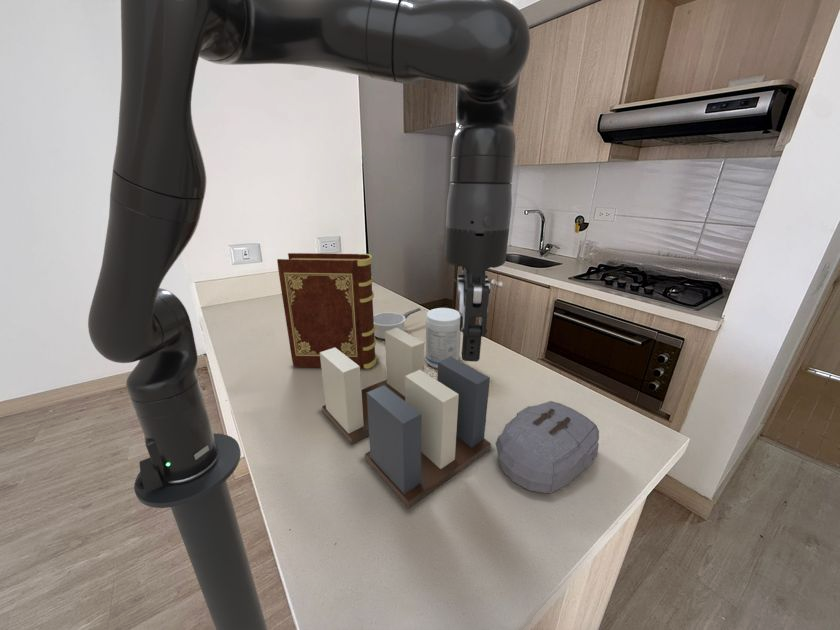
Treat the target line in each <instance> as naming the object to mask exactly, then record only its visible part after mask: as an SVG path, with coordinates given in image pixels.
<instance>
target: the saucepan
mask: <svg viewBox="0 0 840 630" xmlns="http://www.w3.org/2000/svg"><path fill="white" fill-rule="evenodd" d="M420 311H422V308H420V307H418V308H415V309H411V310H410V311H406V312H405V313H403V314H402V313H399V312H394V311H393V312H392V311H385V312H380V313H375V314H373V319H374V324H375V331H374V337H375V338H376V337H377V338H378V339H382V340H385V331H389V330H392V329H395V328H398V329H400V330H402V331H404V332H405V321H406V320H407V319H408V317H409V316H410V315H413V314H415V313H417V312H420Z"/></svg>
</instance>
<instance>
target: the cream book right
mask: <svg viewBox="0 0 840 630" xmlns="http://www.w3.org/2000/svg"><path fill="white" fill-rule="evenodd" d="M384 343H385V367H386V369H385V370H386V371H385V372H386V379H387V384H389V385H390V386H391V387H393V388H394V389H395V390H397V391H398V392H399V393H400V394H402V395H403V396H404V397H405V376H406V375H409V374H411V373H413V372H416V371H418V370H421V371H423V372H424V373H425V342H424V341H423V340H420V339H419V338H417V337H415V336H413V335H411V334H410V333H408V332H406V331H405V330H404V331H402V330H400V329H398V328H395V329H392V330H389V331H385V339H384Z"/></svg>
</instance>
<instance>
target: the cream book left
mask: <svg viewBox="0 0 840 630" xmlns="http://www.w3.org/2000/svg"><path fill="white" fill-rule="evenodd" d="M320 360H321V368H320V369H321V376H322V386H323V395H324V403H325V405H326V409H327V411H328V412H329V413H330V414H331V415H332V416H333V417H334V418H335V419H336V420H337V422H338V423H339V424H340V425H341V426H342V427H343V428H344V429H345V430H346V431H347V432H348V434H349V433H351V432H353V431H355V430H357V429H359V428H361V427H363V426H364V421H363V406H362V392H361V390H362V379H361V368H360V366H359V365H357V364H356V363H355V362H353V361H352V360H351V359H350V358H348V357H347V356H346V355H344V354H343V353H342V352H341V351H339V350H338V349H337V348H332V349H329V350H325V351H322V352H320Z"/></svg>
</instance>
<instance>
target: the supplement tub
mask: <svg viewBox="0 0 840 630" xmlns="http://www.w3.org/2000/svg"><path fill="white" fill-rule="evenodd" d="M461 334H462V332H461V331H460V314H459V310H457V309H453V308H449V307H437V308H433V309H430V310H428V311H427V312H426V316H425V362H426V364H427V365H429V366H430V367H432V368H435V369H438V362H439V361H441V360H444V359H446V358H448V357H453V358H455V359H456V360H458V361H460V351H461Z"/></svg>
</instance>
